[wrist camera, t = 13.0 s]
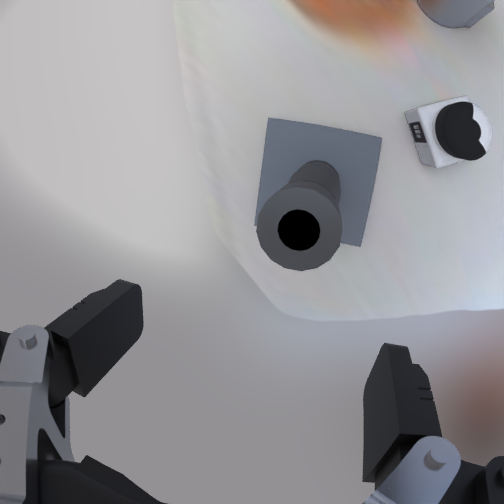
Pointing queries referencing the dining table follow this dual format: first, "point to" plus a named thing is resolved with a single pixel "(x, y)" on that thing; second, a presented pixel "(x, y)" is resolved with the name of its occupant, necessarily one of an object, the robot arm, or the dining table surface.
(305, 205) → the candle holder
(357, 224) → the mat
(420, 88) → the dining table surface
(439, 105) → the container
